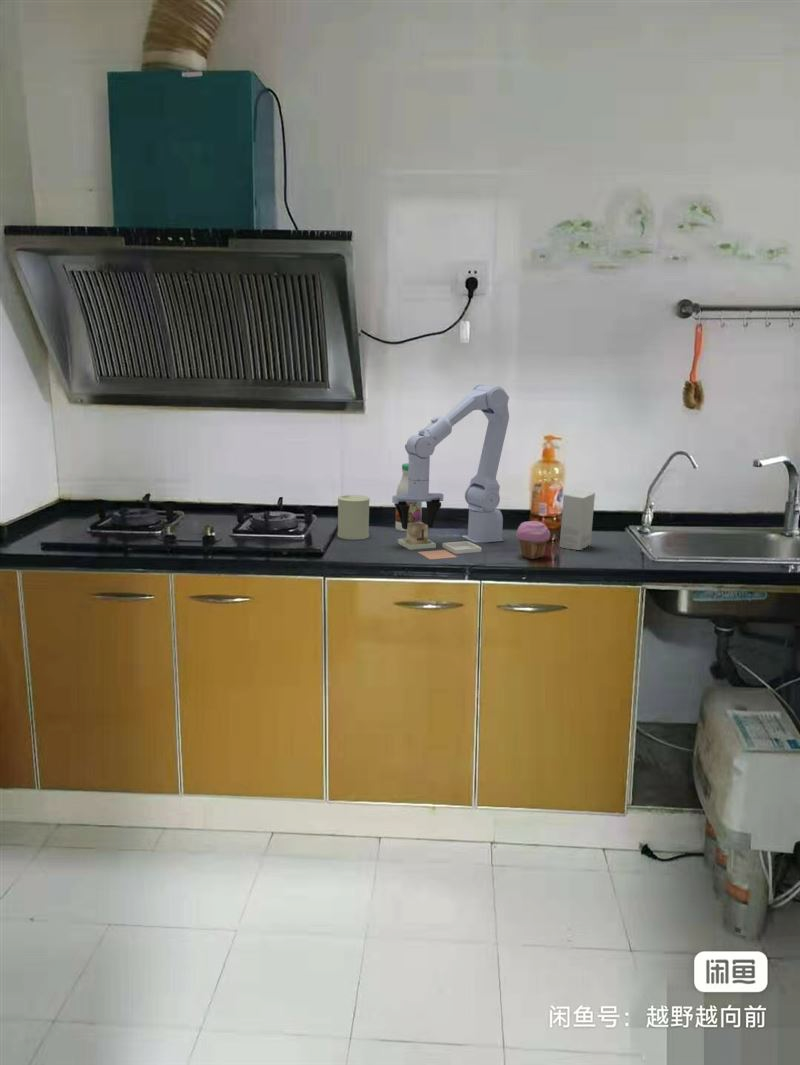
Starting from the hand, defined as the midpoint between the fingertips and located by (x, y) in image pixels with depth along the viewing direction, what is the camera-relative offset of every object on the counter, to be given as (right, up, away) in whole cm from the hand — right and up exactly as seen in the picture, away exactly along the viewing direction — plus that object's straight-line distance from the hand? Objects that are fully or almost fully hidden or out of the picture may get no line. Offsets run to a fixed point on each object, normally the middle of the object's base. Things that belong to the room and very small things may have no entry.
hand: (417, 527), depth 240 cm
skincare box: (+45, -6, +5) cm, 46 cm away
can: (-18, -3, +11) cm, 21 cm away
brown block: (0, -5, +1) cm, 5 cm away
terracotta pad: (+5, -8, -9) cm, 13 cm away
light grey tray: (+12, -6, -2) cm, 14 cm away
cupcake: (+31, -8, -7) cm, 33 cm away
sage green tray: (0, -5, +1) cm, 5 cm away
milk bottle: (-2, -1, +21) cm, 22 cm away
